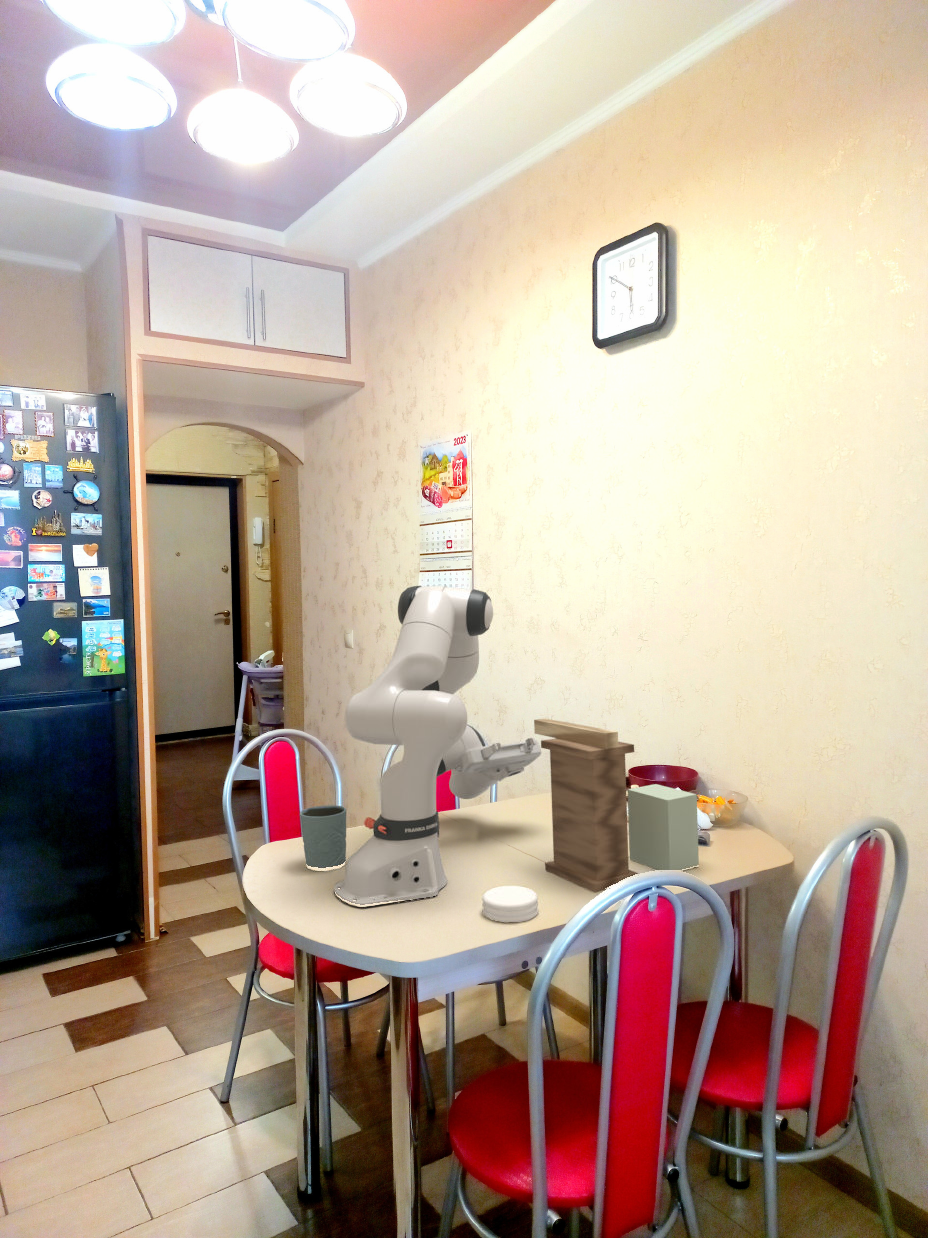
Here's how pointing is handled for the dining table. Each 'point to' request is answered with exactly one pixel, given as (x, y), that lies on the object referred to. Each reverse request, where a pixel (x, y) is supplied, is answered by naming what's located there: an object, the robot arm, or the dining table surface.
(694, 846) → the sage-green block
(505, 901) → the coaster
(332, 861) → the grey-green cup
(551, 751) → the walnut pedestal
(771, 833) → the dining table surface
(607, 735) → the maple rod
